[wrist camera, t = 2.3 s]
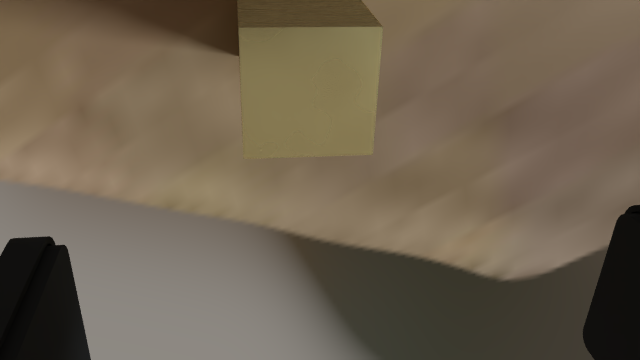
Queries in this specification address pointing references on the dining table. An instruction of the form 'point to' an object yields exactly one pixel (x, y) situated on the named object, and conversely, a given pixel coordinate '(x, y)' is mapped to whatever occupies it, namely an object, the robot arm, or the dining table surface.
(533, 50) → the dining table surface
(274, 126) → the peg
